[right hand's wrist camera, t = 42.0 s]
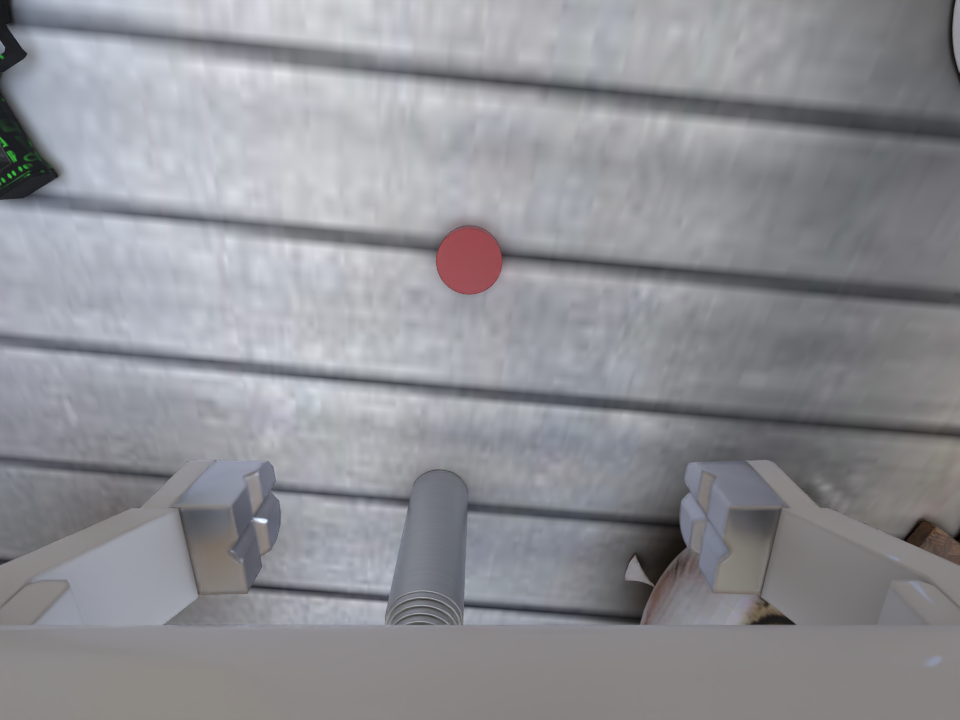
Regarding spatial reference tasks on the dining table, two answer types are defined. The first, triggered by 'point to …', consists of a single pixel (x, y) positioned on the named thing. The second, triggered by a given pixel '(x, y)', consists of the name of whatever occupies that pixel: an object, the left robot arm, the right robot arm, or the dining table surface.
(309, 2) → the dining table surface
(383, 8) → the dining table surface
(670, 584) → the plush toy
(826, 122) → the dining table surface
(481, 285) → the cap
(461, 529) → the bottle
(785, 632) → the right robot arm
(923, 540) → the wooden paddle board
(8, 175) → the handgun
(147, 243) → the dining table surface
